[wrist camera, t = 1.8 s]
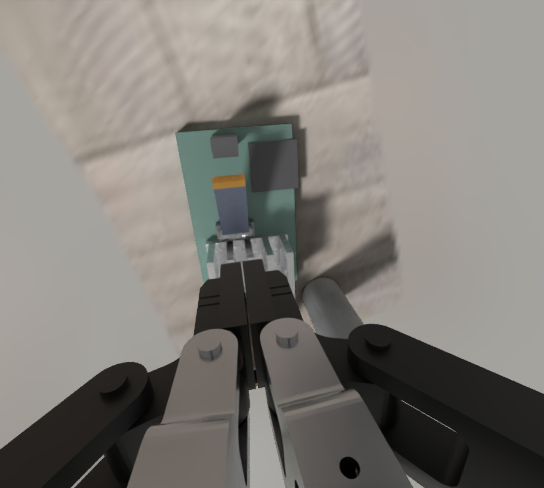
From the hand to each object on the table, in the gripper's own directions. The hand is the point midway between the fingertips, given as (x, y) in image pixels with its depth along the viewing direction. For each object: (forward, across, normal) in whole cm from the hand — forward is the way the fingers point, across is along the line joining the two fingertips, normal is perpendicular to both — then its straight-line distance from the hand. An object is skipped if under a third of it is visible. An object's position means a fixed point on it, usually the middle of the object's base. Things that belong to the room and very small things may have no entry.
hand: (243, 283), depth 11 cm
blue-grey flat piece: (+15, 0, +2) cm, 15 cm away
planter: (+19, -9, +15) cm, 26 cm away
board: (+19, -1, +4) cm, 19 cm away
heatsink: (+18, -1, +8) cm, 19 cm away
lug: (+18, 0, -3) cm, 18 cm away
